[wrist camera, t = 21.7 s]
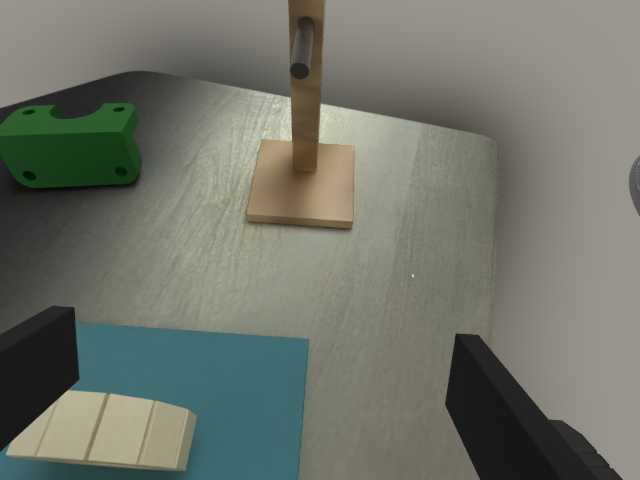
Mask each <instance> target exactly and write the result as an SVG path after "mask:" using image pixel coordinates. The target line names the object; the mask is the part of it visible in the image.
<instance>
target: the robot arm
mask: <svg viewBox="0 0 640 480" xmlns="http://www.w3.org/2000/svg"><path fill="white" fill-rule="evenodd" d="M79 380H80V376H79V363H78V350H77V337H76V324H75V311H74V307H60V306H51V307H49V308H47V309H46V310H44V311H42V312H40V313H38V314H37V315H35V316H33V317H31V318H29V319H28V320H26V321H24V322H22V323H20V324H19V325H17V326H15V327H13V328H11V329H10V330H8V331H6V332H4V333H2V334H1V335H0V452H1V451H2V450H3V449H4V448H5V447H6V446H7V445H8V444H10V443H11V442H12V441H13V440H14V439H15V438H16V437H17V436H18V435H19V434H21V433H22V432H23V431H24V430H25V429H26V428H27V427H28V426H29V425H30V424H31V423H33V422H34V421H35V420H36V419H37V418H38V417H39V416H40V415H41V414H42V413H43V412H45V411H46V410H47V409H48V408H49V407H50V406H51V405H52V404H53V403H54V402H56V401H57V400H58V399H59V398H60V397H61V396H62V395H63V394H64V393H65V392H66V391H68V390H69V389H70V388H71V387H72V386H73V385H74V384H75V383H76V382H77V381H79ZM445 405H446V408H447V410H448V412H449V414H450V416H451V418H452V420H453V422H454V425H455V427H456V429H457V431H458V433H459V435H460V437H461V440H462V442H463V444H464V446H465V448H466V450H467V452H468V455H469V457H470V459H471V461H472V463H473V465H474V467H475V470H476V472H477V474H478V476H479V478H480V480H622V478H621V477H620V476H619V475H618V474H617V473H616V472H615V470H614V469H612V468H610V466H609V464H608V463H607V462H606V461H605V459H604V458H603V457H602V456H601V455H600V454H597V451H596V449H594V447H593V446H592V445H591V444H590V443H589V442H588V441H587V440H586V438H585V437H584V436H583V435H582V434H580V433H579V432H578V431H576V430H575V429H573V428H572V427H570V426H569V425H568V424H566V423H565V422H563V421H562V420H548V419H547V417H546V416H545V415H544V414H543V413H542V411H541V410H540V409H539V408H538V406H537V405H536V404H535V403H534V402H533V400H532V399H531V398H530V397H529V396H528V394H527V393H526V392H525V391H524V390H523V388H522V387H521V386H520V385H519V384H518V382H517V381H516V380H515V379H514V377H513V376H512V375H511V374H510V373H509V371H508V370H507V369H506V368H505V367H504V365H503V364H502V363H501V362H500V361H499V359H498V358H497V357H496V356H495V355H494V353H493V352H492V351H491V350H490V349H489V347H488V346H487V345H486V344H485V342H484V341H483V340H482V339H481V338H480V336H479V335H471V334H456V336H455V343H454V349H453V356H452V363H451V369H450V376H449V382H448V389H447V396H446V402H445Z"/></svg>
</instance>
